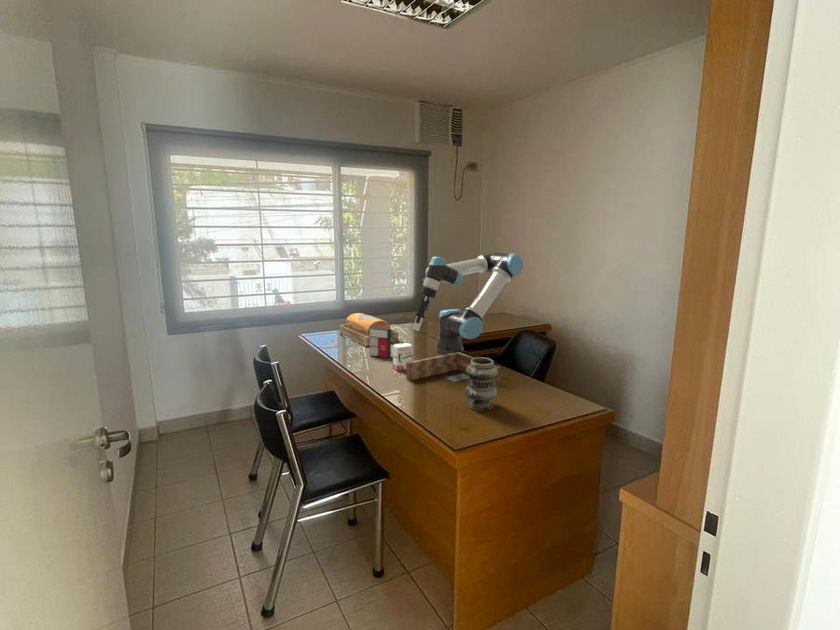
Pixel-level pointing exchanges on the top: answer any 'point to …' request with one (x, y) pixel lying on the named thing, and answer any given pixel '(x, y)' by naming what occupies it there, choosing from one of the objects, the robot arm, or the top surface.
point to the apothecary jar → (481, 383)
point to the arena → (443, 367)
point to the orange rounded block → (364, 323)
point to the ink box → (402, 355)
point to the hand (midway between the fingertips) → (415, 330)
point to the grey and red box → (380, 342)
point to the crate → (362, 338)
